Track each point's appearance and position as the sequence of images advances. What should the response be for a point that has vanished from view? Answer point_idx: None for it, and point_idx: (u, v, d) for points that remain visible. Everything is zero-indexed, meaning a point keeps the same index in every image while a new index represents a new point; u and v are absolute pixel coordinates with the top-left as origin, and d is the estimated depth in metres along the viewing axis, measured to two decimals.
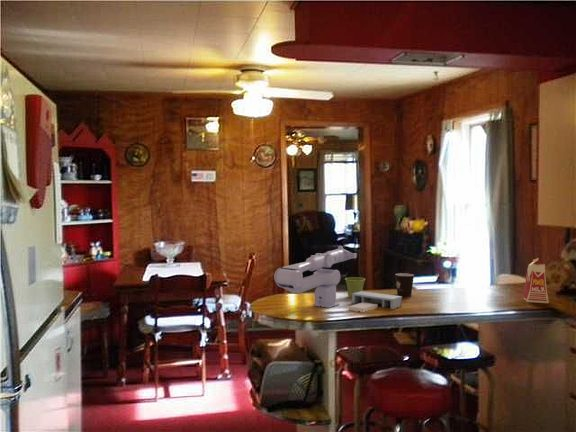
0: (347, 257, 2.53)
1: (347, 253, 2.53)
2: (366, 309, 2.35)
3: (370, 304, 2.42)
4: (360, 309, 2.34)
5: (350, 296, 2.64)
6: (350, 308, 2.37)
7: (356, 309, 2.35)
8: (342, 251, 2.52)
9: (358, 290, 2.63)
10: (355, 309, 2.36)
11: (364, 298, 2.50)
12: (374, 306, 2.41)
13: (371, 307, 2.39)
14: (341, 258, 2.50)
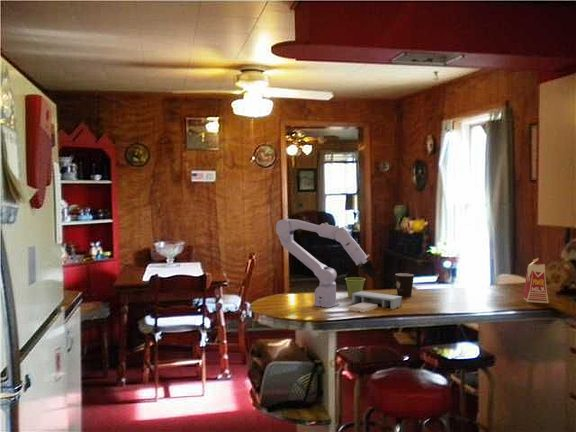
0: (361, 261, 2.39)
1: None
2: (366, 309, 2.35)
3: (370, 304, 2.42)
4: (360, 309, 2.34)
5: (350, 296, 2.64)
6: (350, 308, 2.37)
7: (356, 309, 2.35)
8: (363, 254, 2.41)
9: (358, 290, 2.63)
10: (355, 309, 2.36)
11: (364, 298, 2.50)
12: (374, 306, 2.41)
13: (371, 307, 2.39)
14: (355, 254, 2.41)
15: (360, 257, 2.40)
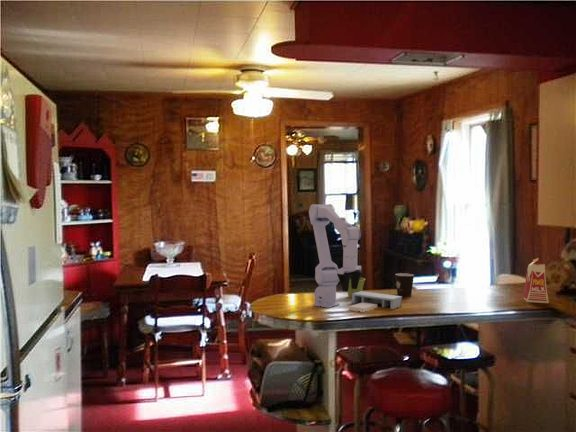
0: (343, 269, 2.28)
1: None
2: (366, 309, 2.35)
3: (370, 304, 2.42)
4: (360, 309, 2.34)
5: (350, 296, 2.64)
6: (350, 308, 2.37)
7: (356, 309, 2.35)
8: (351, 265, 2.28)
9: (358, 290, 2.63)
10: (355, 309, 2.36)
11: (364, 298, 2.50)
12: (374, 306, 2.41)
13: (371, 307, 2.39)
14: (345, 259, 2.29)
15: (346, 265, 2.28)
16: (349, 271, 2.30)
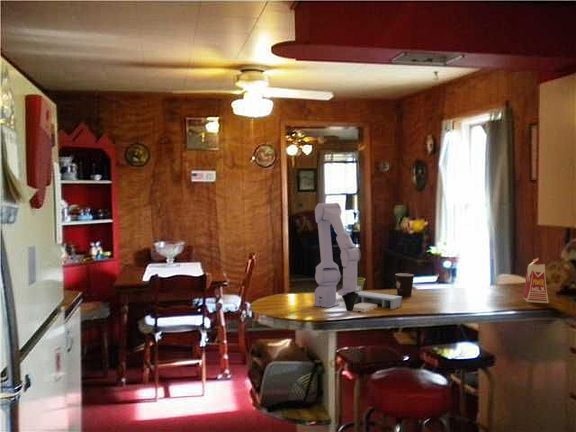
0: None
1: None
2: (366, 309, 2.35)
3: (370, 304, 2.42)
4: (360, 309, 2.34)
5: None
6: None
7: (356, 309, 2.35)
8: (351, 286, 2.28)
9: None
10: (355, 309, 2.36)
11: (364, 298, 2.50)
12: (374, 306, 2.41)
13: (371, 307, 2.39)
14: (344, 280, 2.29)
15: (346, 286, 2.29)
16: (349, 292, 2.30)
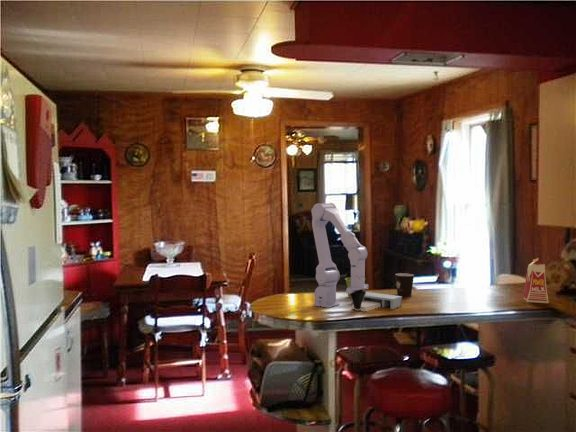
0: (351, 288, 2.34)
1: None
2: (369, 308, 2.37)
3: (373, 303, 2.44)
4: (363, 308, 2.36)
5: (350, 296, 2.64)
6: (353, 307, 2.39)
7: None
8: (359, 284, 2.33)
9: None
10: None
11: (364, 298, 2.50)
12: (377, 305, 2.42)
13: (374, 306, 2.40)
14: (352, 278, 2.34)
15: (354, 284, 2.34)
16: (356, 290, 2.35)
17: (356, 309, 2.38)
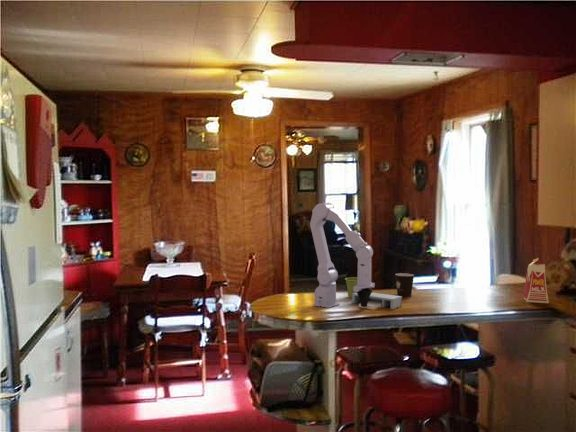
0: (358, 286, 2.38)
1: None
2: (376, 307, 2.41)
3: (379, 302, 2.48)
4: (370, 307, 2.40)
5: (350, 296, 2.64)
6: (360, 305, 2.43)
7: None
8: (365, 282, 2.37)
9: None
10: None
11: None
12: None
13: (380, 305, 2.44)
14: (359, 277, 2.38)
15: (360, 283, 2.38)
16: (363, 288, 2.39)
17: None
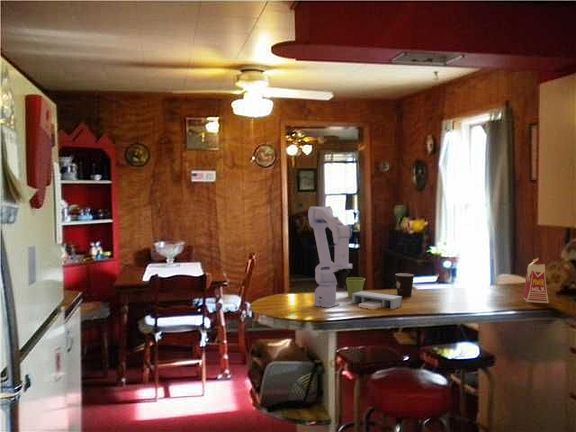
0: (335, 267, 2.30)
1: None
2: (375, 306, 2.41)
3: (380, 302, 2.48)
4: (369, 306, 2.40)
5: (350, 296, 2.64)
6: (360, 305, 2.43)
7: (366, 306, 2.41)
8: (343, 263, 2.30)
9: (358, 290, 2.63)
10: (365, 306, 2.42)
11: (364, 298, 2.50)
12: None
13: (381, 304, 2.44)
14: (336, 257, 2.31)
15: (337, 263, 2.31)
16: (340, 269, 2.32)
17: None
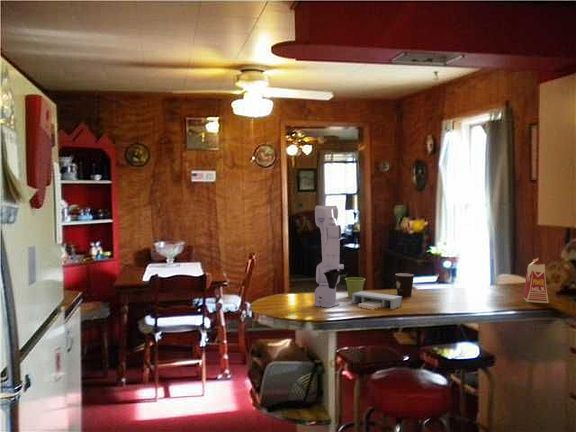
0: None
1: None
2: (375, 306, 2.41)
3: (380, 302, 2.48)
4: (369, 306, 2.40)
5: (350, 296, 2.64)
6: (360, 305, 2.43)
7: (365, 306, 2.41)
8: (333, 263, 2.28)
9: (358, 290, 2.63)
10: (364, 306, 2.42)
11: (364, 298, 2.50)
12: None
13: (380, 305, 2.44)
14: (327, 258, 2.29)
15: (328, 264, 2.29)
16: (331, 269, 2.30)
17: None
